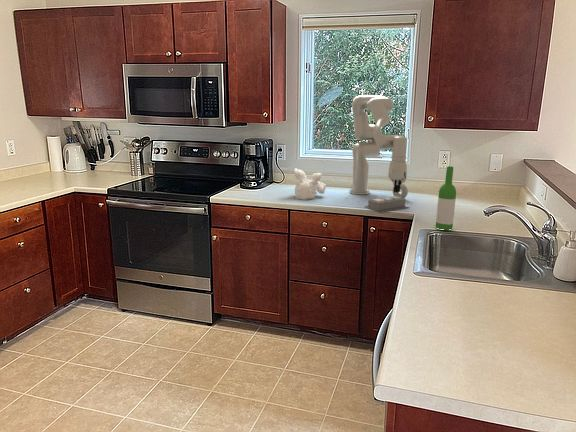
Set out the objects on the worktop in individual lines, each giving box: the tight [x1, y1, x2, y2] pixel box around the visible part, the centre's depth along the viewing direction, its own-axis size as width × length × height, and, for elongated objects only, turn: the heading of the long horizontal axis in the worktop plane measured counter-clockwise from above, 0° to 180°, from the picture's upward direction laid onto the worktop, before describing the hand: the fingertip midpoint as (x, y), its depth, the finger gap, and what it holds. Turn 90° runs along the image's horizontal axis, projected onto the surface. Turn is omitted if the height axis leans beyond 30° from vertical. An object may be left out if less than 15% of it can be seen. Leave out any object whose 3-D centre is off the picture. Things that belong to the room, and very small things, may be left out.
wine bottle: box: [435, 165, 457, 230], centre depth 226 cm, size 8×8×30 cm
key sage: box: [389, 195, 401, 200], centre depth 272 cm, size 4×4×3 cm
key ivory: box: [372, 198, 384, 203], centre depth 266 cm, size 4×4×3 cm
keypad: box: [363, 196, 410, 214], centre depth 269 cm, size 14×20×5 cm
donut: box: [392, 183, 409, 199], centre depth 289 cm, size 10×4×10 cm, turn 43°
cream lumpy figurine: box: [293, 167, 327, 201], centre depth 292 cm, size 19×20×20 cm
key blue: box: [381, 196, 393, 201], centre depth 269 cm, size 4×4×3 cm
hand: (396, 191), depth 271 cm, fingers closed
